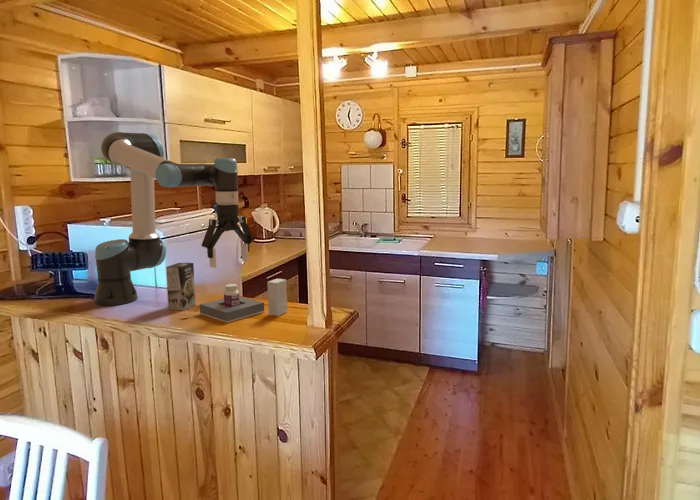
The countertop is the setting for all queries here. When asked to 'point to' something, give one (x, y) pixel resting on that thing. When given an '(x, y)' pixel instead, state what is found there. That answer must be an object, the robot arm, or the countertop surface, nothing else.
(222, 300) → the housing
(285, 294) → the skincare box
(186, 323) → the countertop surface
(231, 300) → the pill bottle
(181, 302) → the coffee box
